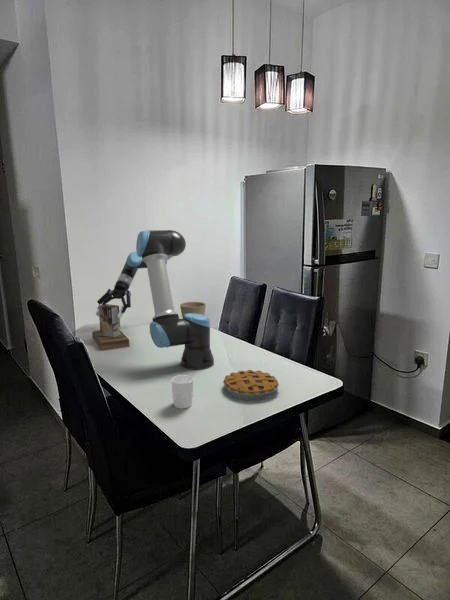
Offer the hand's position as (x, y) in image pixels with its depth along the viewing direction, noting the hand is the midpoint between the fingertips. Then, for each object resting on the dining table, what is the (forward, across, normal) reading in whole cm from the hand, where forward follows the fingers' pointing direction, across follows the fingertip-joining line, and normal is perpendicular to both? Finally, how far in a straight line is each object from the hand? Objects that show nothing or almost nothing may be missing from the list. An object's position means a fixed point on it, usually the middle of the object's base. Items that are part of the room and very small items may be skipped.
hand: (107, 316), depth 216 cm
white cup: (+45, -69, +25) cm, 86 cm away
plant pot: (-16, -32, -36) cm, 51 cm away
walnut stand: (+10, 0, -10) cm, 14 cm away
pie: (+30, -88, +9) cm, 94 cm away
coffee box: (+7, -1, -8) cm, 10 cm away
